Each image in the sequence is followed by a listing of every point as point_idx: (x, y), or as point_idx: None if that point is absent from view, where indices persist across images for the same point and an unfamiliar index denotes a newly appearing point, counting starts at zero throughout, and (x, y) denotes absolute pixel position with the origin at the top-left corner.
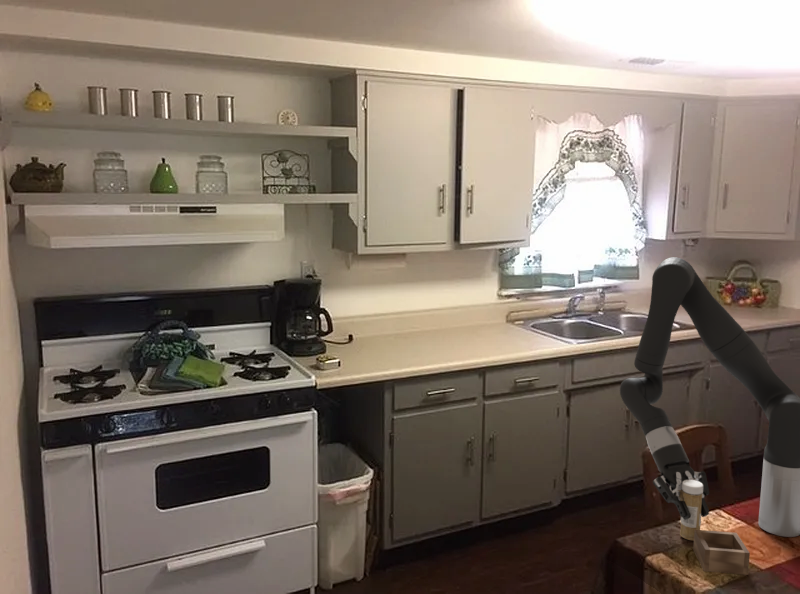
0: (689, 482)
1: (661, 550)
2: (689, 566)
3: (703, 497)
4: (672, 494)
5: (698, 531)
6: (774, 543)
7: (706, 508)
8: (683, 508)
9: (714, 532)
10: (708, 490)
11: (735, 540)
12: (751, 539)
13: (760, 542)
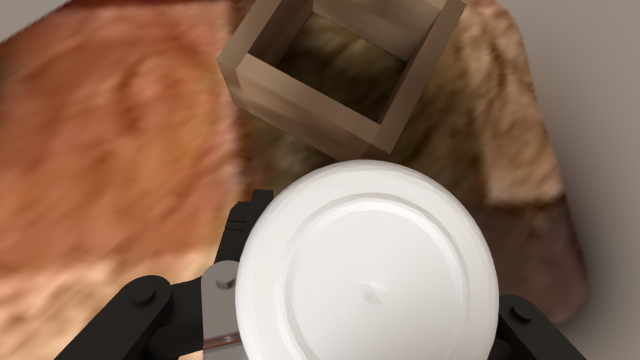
0: (406, 326)
1: (480, 213)
2: (452, 95)
3: (221, 262)
4: (528, 330)
5: (385, 131)
6: (11, 107)
7: (252, 207)
8: None
9: (317, 98)
10: (110, 306)
11: (266, 30)
12: (71, 163)
13: (59, 132)
